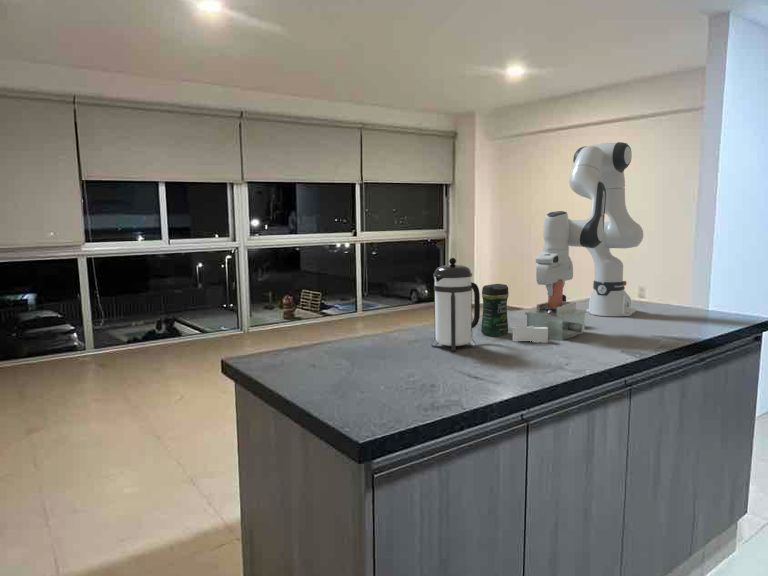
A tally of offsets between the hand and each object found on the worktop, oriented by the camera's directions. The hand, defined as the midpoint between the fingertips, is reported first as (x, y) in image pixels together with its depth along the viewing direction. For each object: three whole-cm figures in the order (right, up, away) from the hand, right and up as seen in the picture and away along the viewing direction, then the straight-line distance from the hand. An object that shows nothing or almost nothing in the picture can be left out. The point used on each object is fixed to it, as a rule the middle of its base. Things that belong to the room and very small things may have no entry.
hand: (555, 294), depth 198 cm
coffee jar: (-22, -15, +2) cm, 26 cm away
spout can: (0, -5, +1) cm, 5 cm away
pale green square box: (+2, -14, -1) cm, 14 cm away
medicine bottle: (+6, -12, +15) cm, 20 cm away
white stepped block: (-12, -17, -11) cm, 23 cm away
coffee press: (-38, -17, -14) cm, 44 cm away
